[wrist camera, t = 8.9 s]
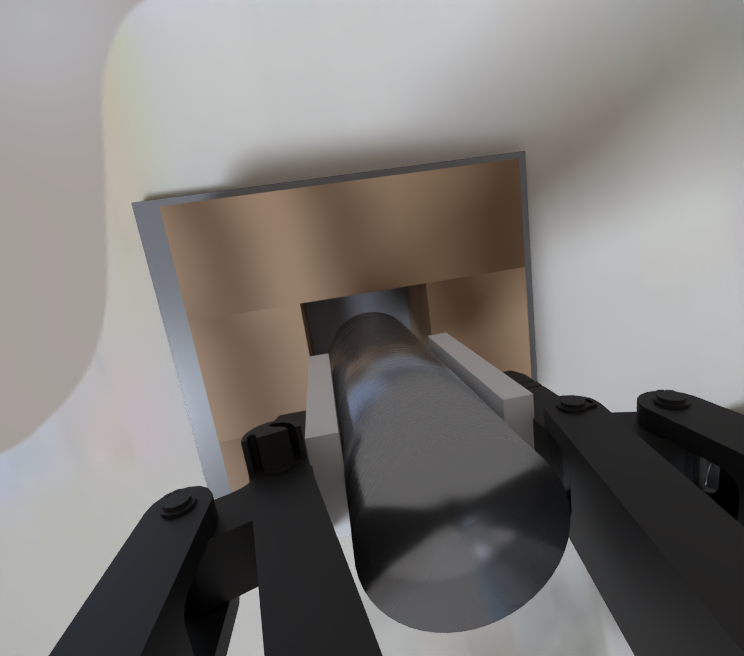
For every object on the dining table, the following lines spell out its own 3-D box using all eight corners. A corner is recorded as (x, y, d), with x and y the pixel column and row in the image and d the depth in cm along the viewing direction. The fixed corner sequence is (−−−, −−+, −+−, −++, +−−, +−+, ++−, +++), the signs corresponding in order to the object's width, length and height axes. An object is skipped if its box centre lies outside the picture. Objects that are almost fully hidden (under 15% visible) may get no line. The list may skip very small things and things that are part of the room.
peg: (408, 305, 19) (567, 415, 7) (419, 386, 19) (573, 603, 8) (322, 319, 18) (336, 463, 6) (337, 401, 19) (371, 655, 7)
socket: (516, 154, 24) (579, 127, 19) (532, 424, 28) (587, 471, 23) (139, 204, 22) (76, 191, 16) (214, 489, 26) (185, 560, 20)
